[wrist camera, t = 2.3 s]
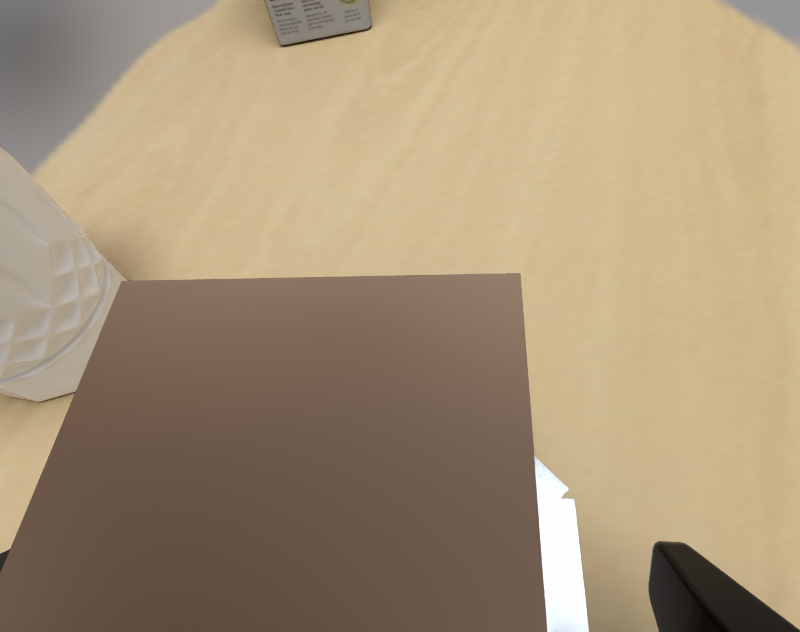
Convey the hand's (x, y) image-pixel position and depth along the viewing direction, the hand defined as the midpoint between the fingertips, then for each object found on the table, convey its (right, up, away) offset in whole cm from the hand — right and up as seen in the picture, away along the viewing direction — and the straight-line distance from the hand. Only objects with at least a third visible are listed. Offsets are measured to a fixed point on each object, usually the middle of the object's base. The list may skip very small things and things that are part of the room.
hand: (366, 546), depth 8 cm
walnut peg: (+1, -4, +7) cm, 8 cm away
